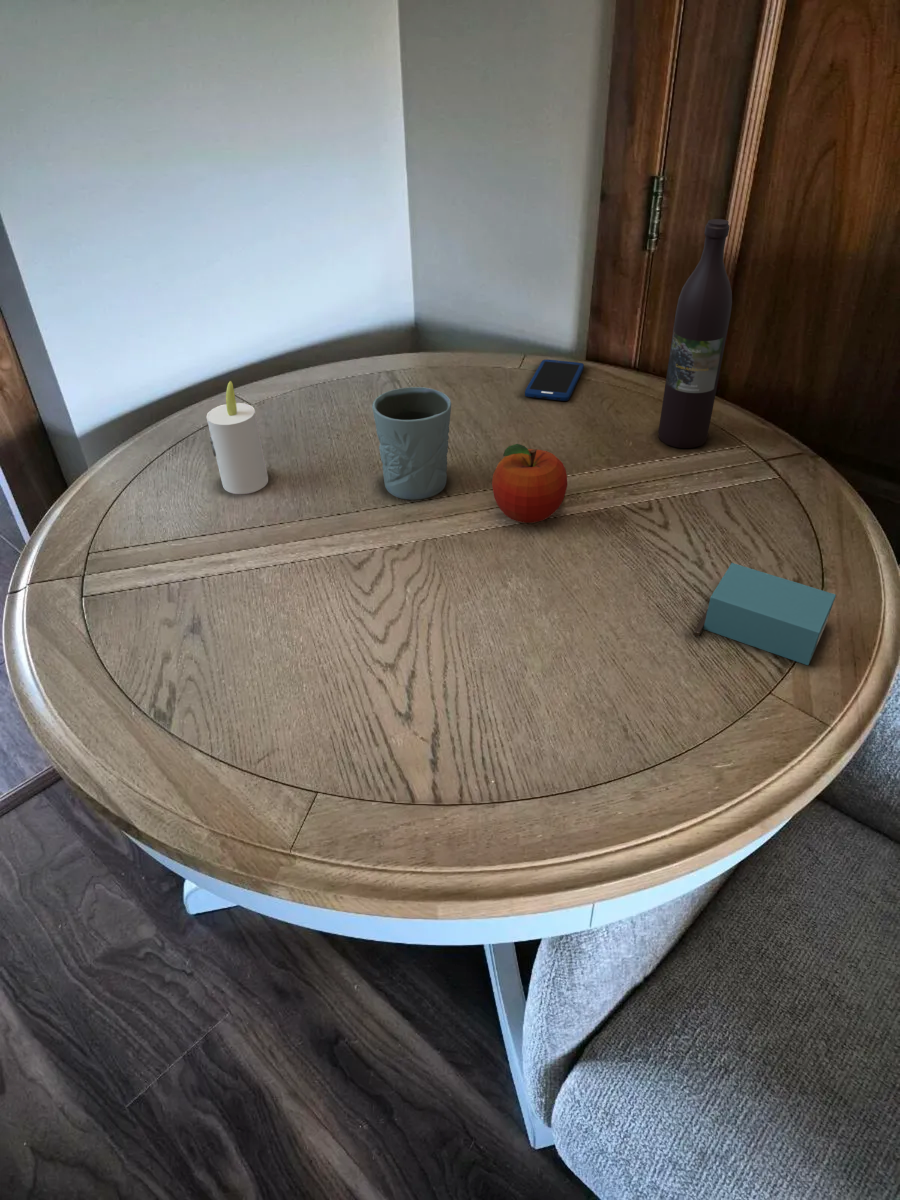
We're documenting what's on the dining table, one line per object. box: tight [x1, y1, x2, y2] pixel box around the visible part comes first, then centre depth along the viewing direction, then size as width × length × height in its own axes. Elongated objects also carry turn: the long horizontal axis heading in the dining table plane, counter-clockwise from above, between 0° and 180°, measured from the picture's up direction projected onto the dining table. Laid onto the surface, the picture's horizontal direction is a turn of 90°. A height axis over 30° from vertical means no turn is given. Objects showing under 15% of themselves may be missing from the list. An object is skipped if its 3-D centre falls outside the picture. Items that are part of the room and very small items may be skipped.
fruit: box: [491, 443, 568, 524], centre depth 104 cm, size 10×10×10 cm
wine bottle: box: [657, 218, 733, 449], centre depth 112 cm, size 7×7×30 cm
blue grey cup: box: [371, 386, 452, 501], centre depth 110 cm, size 10×10×12 cm
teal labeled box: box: [703, 562, 837, 666], centre depth 87 cm, size 11×7×4 cm, turn 57°
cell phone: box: [524, 359, 585, 402], centre depth 137 cm, size 7×14×1 cm, turn 162°
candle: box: [206, 380, 269, 495], centre depth 110 cm, size 6×6×15 cm
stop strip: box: [692, 608, 708, 638], centre depth 91 cm, size 1×10×1 cm, turn 147°
